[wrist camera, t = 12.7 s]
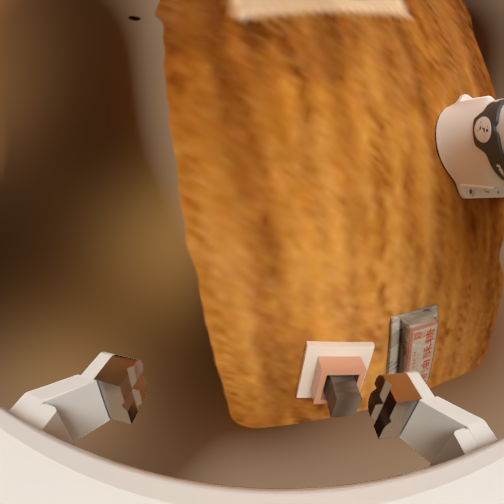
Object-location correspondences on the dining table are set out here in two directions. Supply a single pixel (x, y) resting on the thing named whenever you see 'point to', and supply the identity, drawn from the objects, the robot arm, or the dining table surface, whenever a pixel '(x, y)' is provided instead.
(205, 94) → the dining table surface
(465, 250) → the dining table surface
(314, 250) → the dining table surface
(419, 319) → the packaged product
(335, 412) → the peg
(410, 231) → the dining table surface
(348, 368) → the square socket base
